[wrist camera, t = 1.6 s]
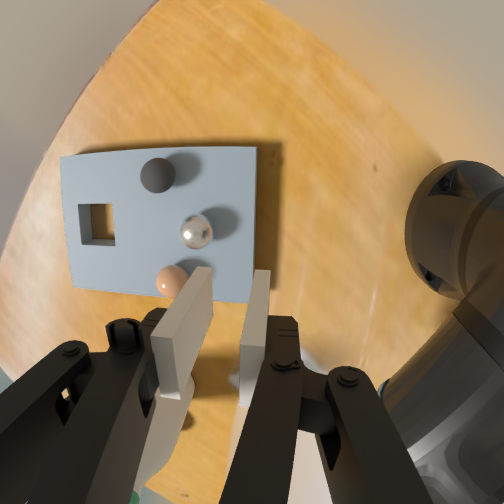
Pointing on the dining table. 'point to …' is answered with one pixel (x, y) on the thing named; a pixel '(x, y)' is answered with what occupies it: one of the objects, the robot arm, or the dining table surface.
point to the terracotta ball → (171, 281)
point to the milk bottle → (162, 436)
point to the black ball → (157, 175)
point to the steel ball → (196, 231)
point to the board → (162, 218)
